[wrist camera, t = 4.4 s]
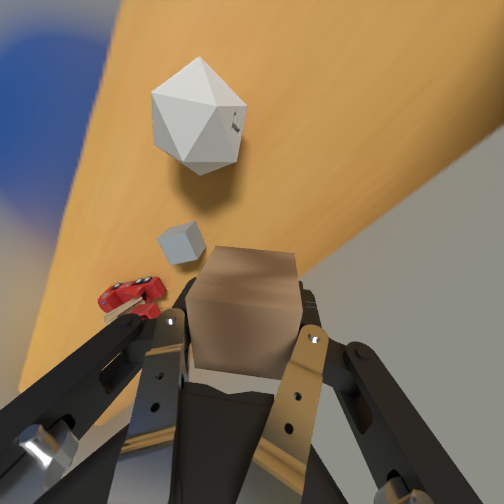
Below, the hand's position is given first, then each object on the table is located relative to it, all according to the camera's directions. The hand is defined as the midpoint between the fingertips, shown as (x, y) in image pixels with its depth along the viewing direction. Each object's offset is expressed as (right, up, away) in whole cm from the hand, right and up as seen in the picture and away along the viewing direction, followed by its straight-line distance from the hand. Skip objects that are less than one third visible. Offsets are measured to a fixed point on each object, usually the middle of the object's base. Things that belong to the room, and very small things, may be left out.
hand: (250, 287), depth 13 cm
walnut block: (0, 0, +1) cm, 1 cm away
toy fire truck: (-18, -3, +22) cm, 28 cm away
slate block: (-9, +5, +16) cm, 19 cm away
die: (-4, +16, +9) cm, 19 cm away
